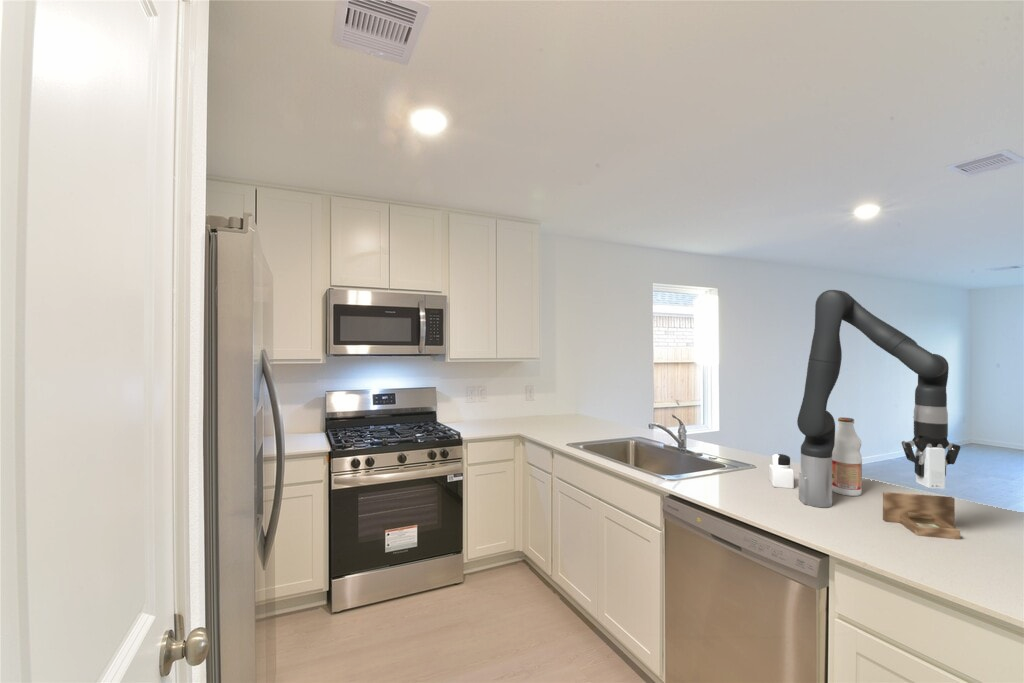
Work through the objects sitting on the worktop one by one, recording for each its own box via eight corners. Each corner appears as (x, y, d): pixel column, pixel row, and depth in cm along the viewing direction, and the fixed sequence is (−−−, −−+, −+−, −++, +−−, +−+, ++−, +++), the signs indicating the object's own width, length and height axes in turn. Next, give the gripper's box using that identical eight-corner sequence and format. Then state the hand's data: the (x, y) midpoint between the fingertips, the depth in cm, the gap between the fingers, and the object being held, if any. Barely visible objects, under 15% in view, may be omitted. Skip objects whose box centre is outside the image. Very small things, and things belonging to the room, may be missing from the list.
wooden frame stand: (901, 534, 134) (902, 504, 134) (882, 519, 144) (882, 491, 144) (976, 540, 129) (976, 509, 129) (951, 525, 139) (951, 496, 139)
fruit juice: (847, 497, 163) (847, 421, 163) (824, 489, 173) (824, 416, 172) (868, 495, 165) (868, 420, 165) (844, 487, 175) (844, 415, 174)
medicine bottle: (789, 483, 180) (789, 453, 180) (793, 489, 173) (793, 458, 173) (769, 481, 182) (769, 452, 182) (773, 487, 175) (773, 456, 175)
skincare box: (946, 489, 131) (946, 449, 131) (929, 488, 132) (929, 448, 132) (931, 482, 137) (931, 444, 137) (915, 482, 138) (915, 443, 138)
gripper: (909, 421, 133) (909, 478, 133) (968, 423, 129) (968, 482, 129) (895, 417, 140) (895, 471, 140) (951, 418, 136) (950, 474, 136)
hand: (930, 476), depth 135 cm, fingers closed on skincare box, 4 cm apart
